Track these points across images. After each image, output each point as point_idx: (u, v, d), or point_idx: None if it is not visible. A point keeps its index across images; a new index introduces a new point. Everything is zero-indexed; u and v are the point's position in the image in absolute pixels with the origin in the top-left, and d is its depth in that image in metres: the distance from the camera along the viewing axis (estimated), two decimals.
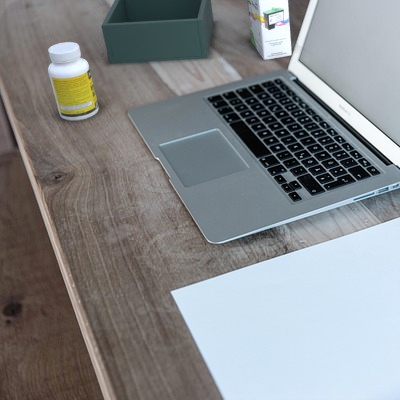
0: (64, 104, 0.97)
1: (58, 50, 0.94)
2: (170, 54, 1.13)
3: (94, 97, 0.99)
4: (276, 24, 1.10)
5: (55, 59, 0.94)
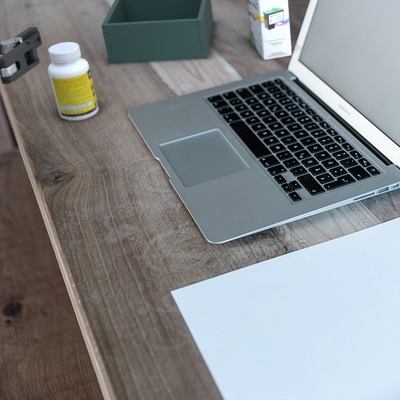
0: (64, 104, 0.97)
1: (58, 50, 0.94)
2: (170, 54, 1.13)
3: (94, 97, 0.99)
4: (276, 24, 1.10)
5: (55, 59, 0.94)
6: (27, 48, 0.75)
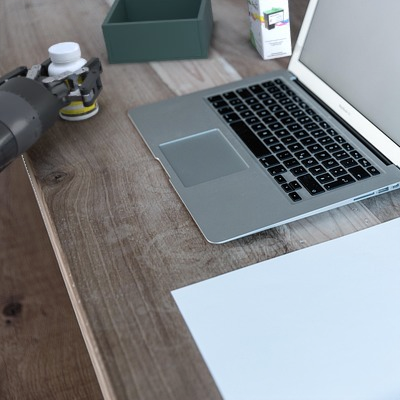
0: None
1: (58, 50, 0.94)
2: (170, 54, 1.13)
3: None
4: (276, 24, 1.10)
5: (55, 58, 0.94)
6: (96, 76, 0.92)
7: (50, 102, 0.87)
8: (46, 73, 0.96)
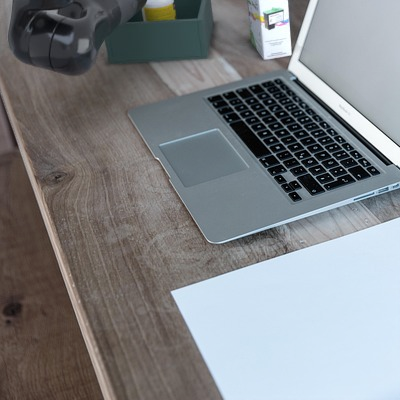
0: None
1: None
2: (170, 54, 1.13)
3: None
4: (276, 24, 1.10)
5: None
6: None
7: None
8: None
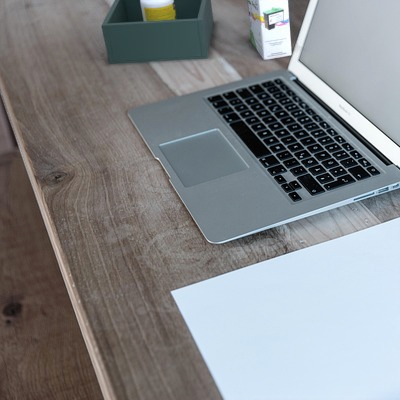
0: None
1: None
2: (170, 54, 1.13)
3: None
4: (276, 24, 1.10)
5: None
6: None
7: None
8: None
